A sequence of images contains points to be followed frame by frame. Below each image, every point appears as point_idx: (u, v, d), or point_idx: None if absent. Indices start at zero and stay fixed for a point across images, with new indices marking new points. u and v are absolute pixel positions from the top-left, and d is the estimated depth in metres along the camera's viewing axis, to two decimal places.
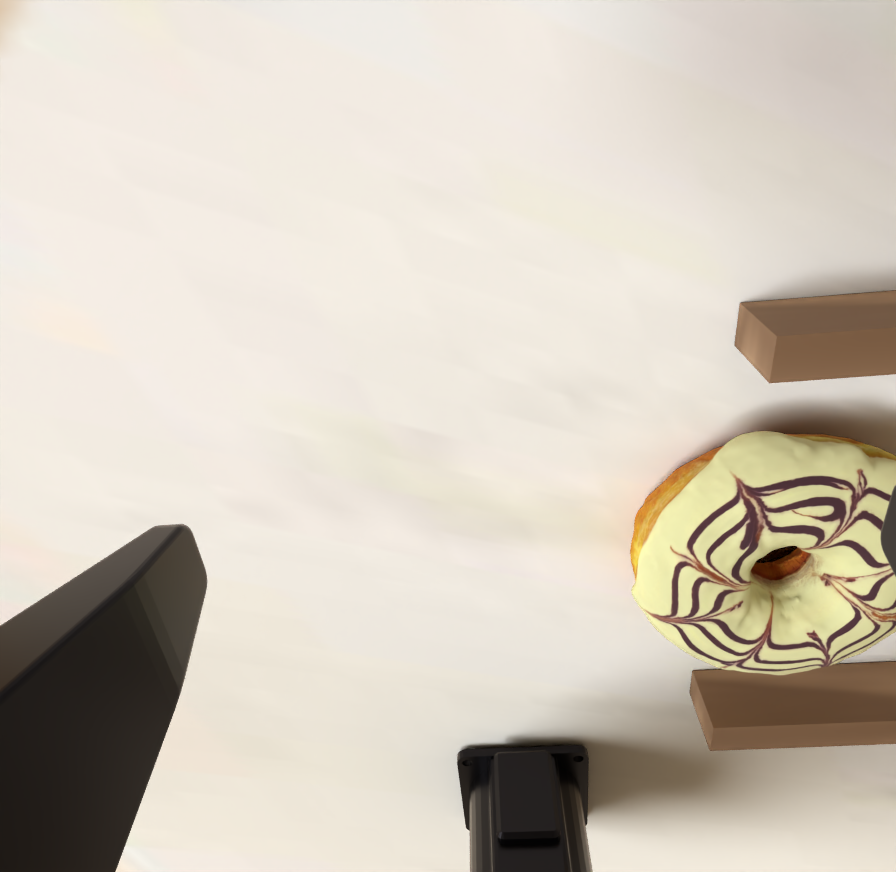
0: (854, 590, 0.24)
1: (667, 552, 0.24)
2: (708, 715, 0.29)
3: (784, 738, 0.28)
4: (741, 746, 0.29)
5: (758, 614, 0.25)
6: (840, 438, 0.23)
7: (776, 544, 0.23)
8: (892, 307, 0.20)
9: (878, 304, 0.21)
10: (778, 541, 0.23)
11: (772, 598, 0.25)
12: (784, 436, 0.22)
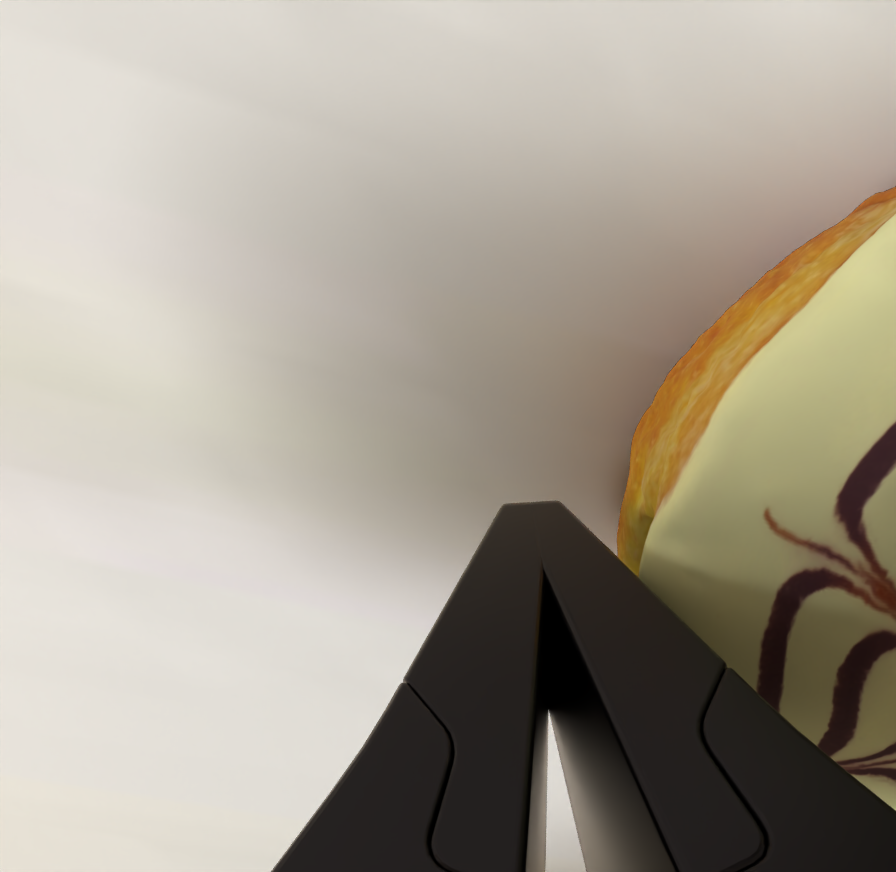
0: None
1: (754, 534, 0.06)
2: None
3: None
4: None
5: None
6: None
7: None
8: None
9: None
10: None
11: None
12: None
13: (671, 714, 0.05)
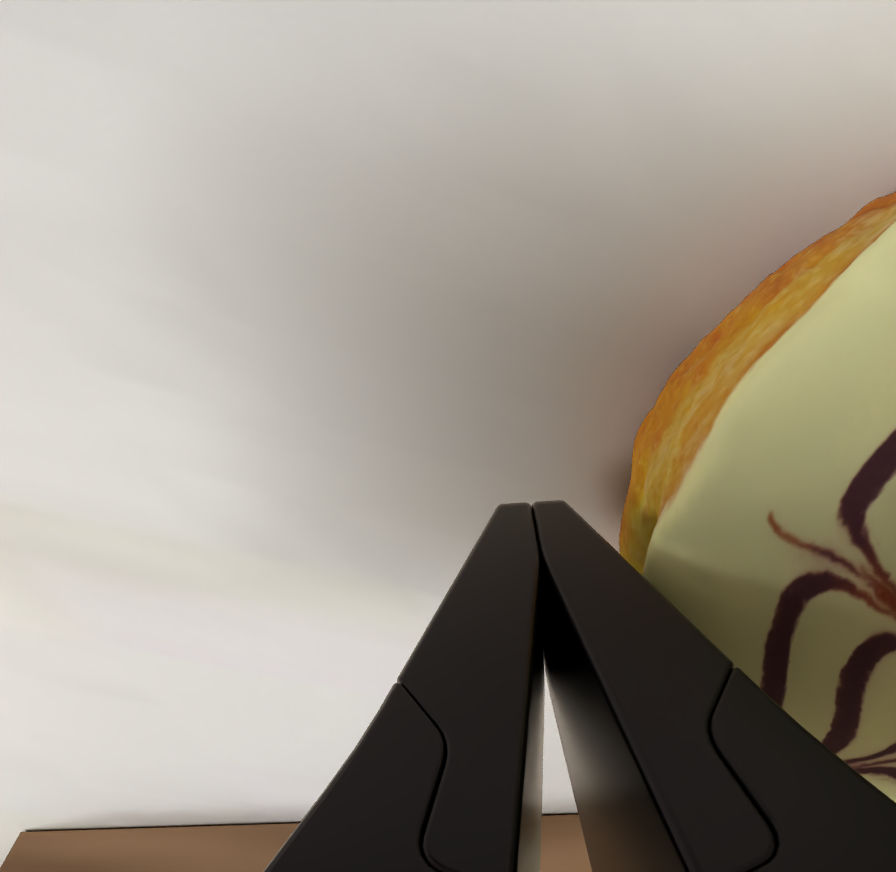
0: None
1: (757, 538, 0.06)
2: None
3: None
4: None
5: None
6: None
7: None
8: None
9: None
10: None
11: None
12: None
13: (678, 713, 0.05)
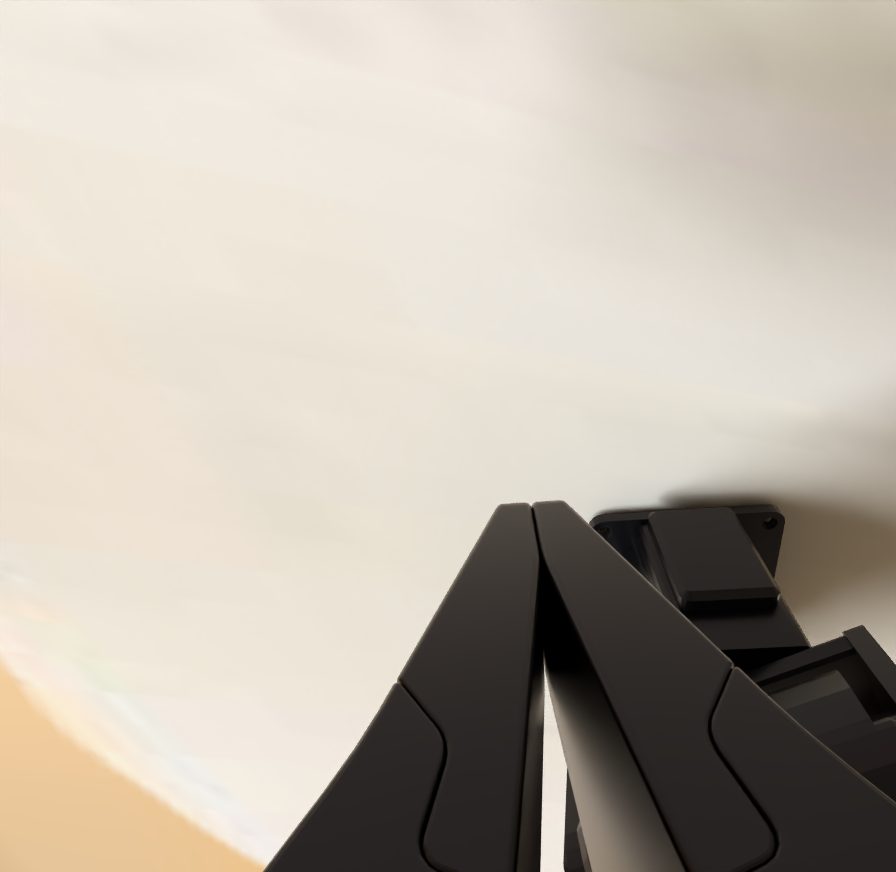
0: None
1: None
2: None
3: None
4: None
5: None
6: None
7: None
8: None
9: None
10: None
11: None
12: None
13: (679, 714, 0.05)
